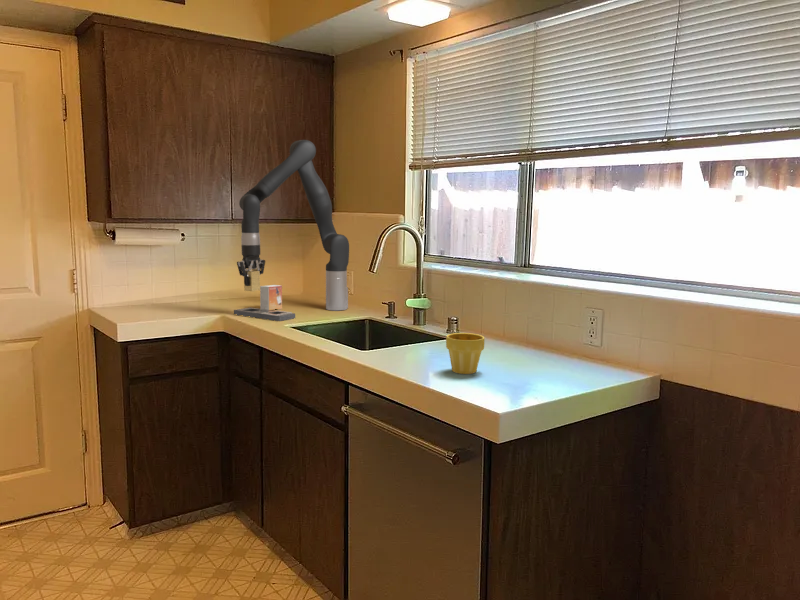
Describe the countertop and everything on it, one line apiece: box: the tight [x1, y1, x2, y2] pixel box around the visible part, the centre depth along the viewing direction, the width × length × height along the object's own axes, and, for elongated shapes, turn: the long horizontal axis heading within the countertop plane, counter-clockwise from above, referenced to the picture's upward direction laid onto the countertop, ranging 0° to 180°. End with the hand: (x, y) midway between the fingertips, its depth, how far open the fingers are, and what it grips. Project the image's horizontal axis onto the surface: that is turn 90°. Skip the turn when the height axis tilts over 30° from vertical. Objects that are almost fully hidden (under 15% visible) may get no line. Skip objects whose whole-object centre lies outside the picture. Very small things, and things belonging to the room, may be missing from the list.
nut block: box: [243, 270, 261, 292], centre depth 266 cm, size 4×4×8 cm
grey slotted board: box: [233, 307, 296, 322], centre depth 264 cm, size 9×26×2 cm, turn 56°
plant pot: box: [445, 332, 486, 375], centre depth 176 cm, size 10×10×10 cm
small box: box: [259, 284, 283, 311], centre depth 283 cm, size 8×6×10 cm
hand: (252, 285), depth 266 cm, fingers closed on nut block, 4 cm apart
